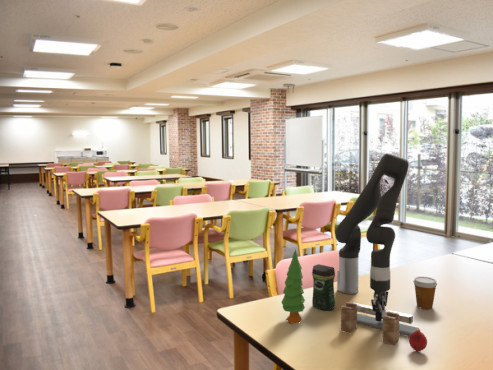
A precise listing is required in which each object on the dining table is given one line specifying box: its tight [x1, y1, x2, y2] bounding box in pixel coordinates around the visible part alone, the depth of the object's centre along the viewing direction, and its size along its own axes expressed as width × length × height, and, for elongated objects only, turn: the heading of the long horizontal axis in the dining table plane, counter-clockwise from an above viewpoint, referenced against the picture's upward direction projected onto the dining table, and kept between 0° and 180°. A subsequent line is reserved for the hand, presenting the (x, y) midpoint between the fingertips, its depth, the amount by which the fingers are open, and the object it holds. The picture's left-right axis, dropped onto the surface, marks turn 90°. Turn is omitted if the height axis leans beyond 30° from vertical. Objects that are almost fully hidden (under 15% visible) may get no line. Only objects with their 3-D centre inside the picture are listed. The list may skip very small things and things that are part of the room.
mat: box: [357, 312, 420, 337], centre depth 162 cm, size 28×8×1 cm, turn 53°
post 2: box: [382, 310, 400, 346], centre depth 148 cm, size 4×6×10 cm, turn 143°
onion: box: [408, 328, 428, 353], centre depth 140 cm, size 6×6×8 cm
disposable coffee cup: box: [413, 276, 438, 310], centre depth 179 cm, size 10×10×12 cm
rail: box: [350, 301, 414, 325], centre depth 162 cm, size 24×3×3 cm, turn 53°
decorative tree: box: [281, 248, 306, 324], centre depth 166 cm, size 10×9×30 cm
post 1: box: [340, 301, 358, 334], centre depth 158 cm, size 4×6×10 cm, turn 143°
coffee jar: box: [311, 263, 336, 311], centre depth 180 cm, size 10×8×19 cm
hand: (379, 319), depth 162 cm, fingers closed on rail, 2 cm apart
